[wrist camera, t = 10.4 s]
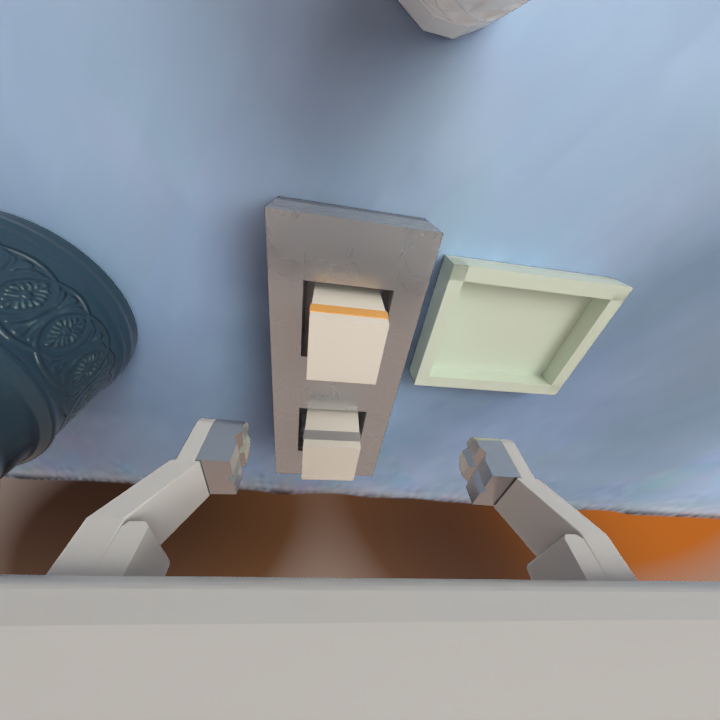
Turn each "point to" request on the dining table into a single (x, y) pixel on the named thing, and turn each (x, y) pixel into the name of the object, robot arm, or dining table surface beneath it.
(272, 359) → the strip
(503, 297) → the tray
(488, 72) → the dining table surface
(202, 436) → the robot arm
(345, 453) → the twin plug
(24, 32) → the dining table surface
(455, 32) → the white cup
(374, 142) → the dining table surface
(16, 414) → the canister
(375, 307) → the plug
